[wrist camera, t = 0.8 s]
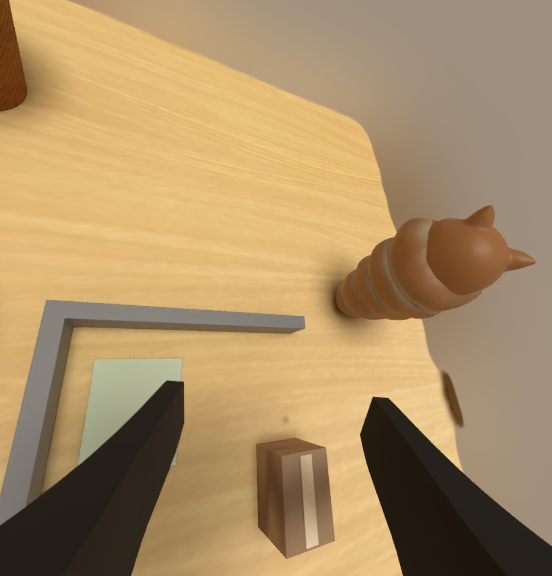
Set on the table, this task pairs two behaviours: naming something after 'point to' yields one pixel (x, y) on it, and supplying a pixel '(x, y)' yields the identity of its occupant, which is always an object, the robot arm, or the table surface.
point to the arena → (102, 381)
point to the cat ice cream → (429, 268)
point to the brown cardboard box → (294, 495)
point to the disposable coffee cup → (10, 62)
